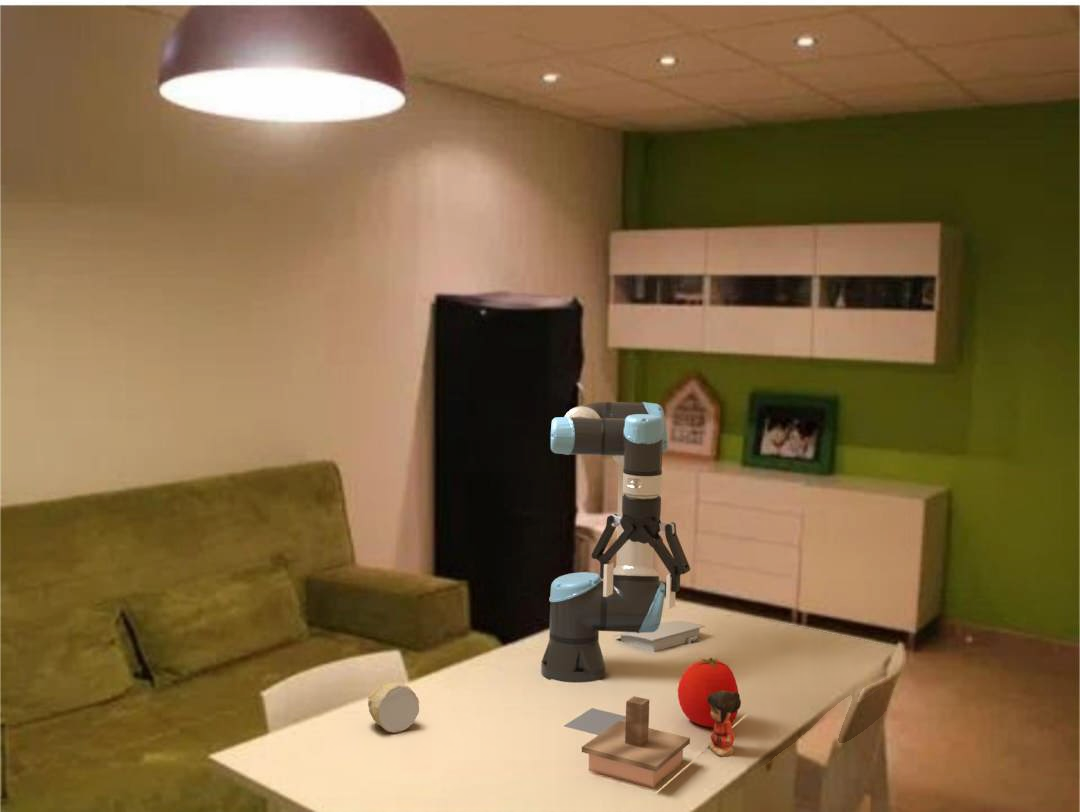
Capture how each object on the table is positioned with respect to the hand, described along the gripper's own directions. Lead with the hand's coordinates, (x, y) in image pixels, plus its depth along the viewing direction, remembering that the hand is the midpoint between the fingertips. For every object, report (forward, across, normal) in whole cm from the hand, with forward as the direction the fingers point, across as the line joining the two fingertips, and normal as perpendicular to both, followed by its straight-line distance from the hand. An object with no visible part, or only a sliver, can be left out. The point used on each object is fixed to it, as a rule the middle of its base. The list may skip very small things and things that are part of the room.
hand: (638, 601), depth 204 cm
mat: (+28, -9, +3) cm, 30 cm away
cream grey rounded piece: (+29, -44, -22) cm, 57 cm away
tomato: (+29, +9, +15) cm, 34 cm away
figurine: (+28, +16, +5) cm, 33 cm away
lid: (+24, +6, -12) cm, 27 cm away
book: (+31, -23, +63) cm, 74 cm away
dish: (+28, +6, -12) cm, 31 cm away
